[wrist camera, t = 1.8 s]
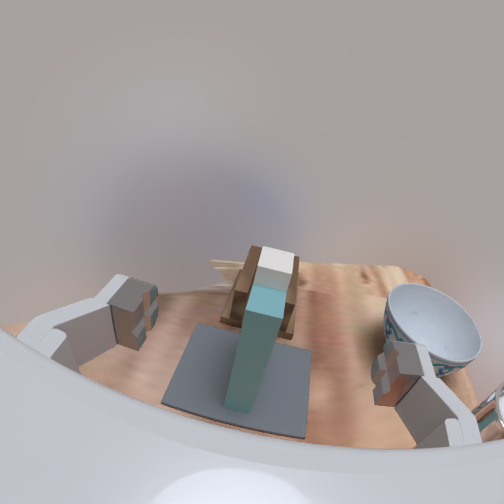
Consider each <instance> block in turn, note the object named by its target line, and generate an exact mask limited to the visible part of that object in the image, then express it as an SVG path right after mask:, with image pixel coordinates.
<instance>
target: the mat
mask: <svg viewBox="0 0 504 504" xmlns="http://www.w3.org/2000/svg"><path fill="white" fill-rule="evenodd" d="M239 337H240V334H239V333H235V332H231V331H227V330H224V329H220V328H216V327H213V326H209V325H205V324H202V323H197V325H196V328H195V330H194V332H193V334H192V336H191V338H190V340H189V343H188V345H187V347H186V349H185V351H184V353H183V355H182V358H181V360H180V362H179V364H178V366H177V368H176V371H175V373H174V375H173V377H172V379H171V381H170V384H169V386H168V388H167V390H166V392H165V395H164V397H163V399H162V401H161V404H164V405H167V406H170V407H172V408H175V409H178V410H182V411H185V412H188V413H191V414H194V415H198V416H201V417H204V418H208V419H211V420H215V421H219V422H223V423H226V424H230V425H234V426H239V427H243V428H247V429H252V430H256V431H261V432H266V433H271V434H276V435H282V436H288V437H294V438H300V439H305V437H306V425H307V413H308V399H309V383H310V365H311V350H307V349H302V348H298V347H293V346H289V345H284V344H280V343H274V346H273V349H272V352H271V355H270V358H269V361H268V363H267V366H266V369H265V372H264V375H263V377H262V380H261V383H260V385H259V388H258V391H257V394H256V396H255V399H254V402H253V404H252V407H251V410H250V412H249V414H248V413H244V412H240V411H236V410H232V409H228V408H224V403H225V398H226V394H227V390H228V385H229V381H230V376H231V372H232V368H233V363H234V359H235V354H236V350H237V345H238V341H239Z"/></svg>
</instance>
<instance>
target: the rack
mask: <svg viewBox="0 0 504 504" xmlns="http://www.w3.org/2000/svg"><path fill="white" fill-rule="evenodd" d="M261 250H262V248H260V247H256V246H251V248H250V251H249V254H248V256H247V259H246V262H245V264H244V267H243V269H242V270H240V271H239V273H238V276H237V278H236V281H235V283H234V286H233V288H232V291H231V294H230V296H229V299H228V301H227V304H226V306H225V309H224V311H223V314H222V317H221V322H222V323H225V324H229V325H233V326H237V327H241V328H242V323H243V319H244V314H245V310H246V306H247V303H248V300H249V296H250V293H251V290H252V287H253V283H254V279H255V274H256V270H257V265H258V262H259V258H260V254H261ZM298 268H299V257H297V256H294V261H293V270H292V276H291V279H290V283H289V286H288V289H287V293H286V300H285V307H284V315H283V320H282V323H281V326H280V329H279V332H278V335H277V337H282V338H286V339H292V337H293V334H294V323H295V313H296V302H297V290H298V284H297V280H298Z"/></svg>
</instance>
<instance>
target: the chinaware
mask: <svg viewBox="0 0 504 504" xmlns="http://www.w3.org/2000/svg"><path fill="white" fill-rule="evenodd" d="M384 333H385V338H386V342H387V341H388V340H394V341H401V342H407V343H416V344H424V345H425V346H426V347H427V350H428V353H429V356H430V359H431V362H432V365H433V368H434V372H435V375H436V377H441V376H446V375H449V374H452V373H454V372H456V371H458V370H460V369H462V368H463V367H465V366H466V365H468V364H469V363H470V362H471V361H473V360H474V359H475V358H476V357H477V356H478V354H479V353H480V351H481V347H482V338H481V334H480V331H479V329H478V327H477V325H476V323H475V321H474V320H473V319H472V317H471V316H470V315H469V314H468V312H467V311H466V310H465V309H464V308H463V307H461V305H459V304H458V303H457V302H456V301H454V300H453V299H451V298H450V297H449V296H447V295H446V294H444V293H442V292H440V291H438V290H436V289H433V288H431V287H428V286H425V285H421V284H416V283H404V284H400V285H397V286H395V287H394V288H393V289H392V290H391V291H390V293H389V296H388V299H387V302H386V307H385V312H384Z"/></svg>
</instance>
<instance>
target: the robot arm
mask: <svg viewBox="0 0 504 504" xmlns="http://www.w3.org/2000/svg"><path fill="white" fill-rule="evenodd" d="M157 296H158V288H157V286H156V285H153V284H150V283H147V282H144V281H141V280H138V279H135V278H132V277H128V276H125V275H122V274H117V275H115V276H114V277H113V278H112V279H111V281H110V282H109V283H108V284H107V285H106V286H105V287H104V288H103V289H102V290H101V291H100V292H99V293H98V294H97V296H96V297H95V298H94V299H93V298H88V299H85V300H82V301H79V302H76V303H73V304H71V305H67V306H64V307H62V308H59V309H56V310H53V311H50V312H47V313H44V314H42V315H39V316H36V317H35V318H34V319H33V320H32V321H31V322H30V323H29V324H28V325H27V326H26V327H25V328H24V329H23V331H22V332H21V333H20V334H19V335H18V336H17V337H14V336H13V335H11V334H9V333H8V332H6V331H5V330H3V329H2V328H1V327H0V504H504V439H501V440H495V441H490V442H483V443H482V439H481V435H480V431H479V428H478V424H477V420H476V417H475V416H474V415H473V414H472V412H471V411H470V410H469V409H468V408H467V407H466V406H465V405H464V404H463V403H462V401H461V400H460V399H459V398H458V397H457V396H456V395H455V394H454V393H453V392H452V391H451V390H450V389H449V388H448V386H447V385H446V384H445V383H444V382H443V381H442V380H441V379H440V378H436V375H435V372H434V368H433V365H432V362H431V359H430V356H429V353H428V350H427V347H426V346H425V345H424V344H416V343H407V342H401V341H394V340H388V341H387V342H386V343H385V345H384V346H383V351H384V352H383V353H381V354H380V355H378V356H377V357H376V359H375V361H374V362H373V366H372V370H371V378H372V381H373V382H374V384H375V385H376V387H375V388H374V389H373V395H374V404H375V405H379V406H388V407H395V410H396V412H397V413H398V415H399V416H400V418H401V420H402V421H403V423H404V424H405V426H406V427H407V429H408V431H409V432H410V434H411V436H412V437H413V439H414V440H415V442H416V444H417V445H416V446H415V447H414V448H412V449H372V448H352V447H339V446H328V445H319V444H311V443H303V442H296V441H290V440H284V439H278V438H272V437H267V436H262V435H257V434H252V433H247V432H243V431H238V430H234V429H230V428H226V427H222V426H218V425H214V424H211V423H207V422H204V421H200V420H197V419H193V418H190V417H187V416H183V415H180V414H177V413H174V412H171V411H168V410H165V409H162V408H160V407H157V406H154V405H151V404H148V403H146V402H143V401H141V400H138V399H135V398H133V397H130V396H128V395H125V394H123V393H121V392H118V391H116V390H114V389H111V388H109V387H107V386H104V385H102V384H100V383H98V382H96V381H93V380H91V379H89V378H87V377H85V376H83V375H81V373H80V371H79V368H78V367H79V366H81V365H83V364H84V363H86V362H88V361H90V360H92V359H93V358H95V357H97V356H99V355H100V354H102V353H104V352H106V351H107V350H109V349H111V348H113V347H114V346H116V345H117V344H119V345H122V346H125V347H128V348H130V349H133V350H136V351H139V349H140V348H141V346H142V344H143V343H144V341H145V340H146V332H147V331H150V330H152V328H153V326H154V325H155V322H156V319H157V316H158V304H157V302H156V301H155V299H156V297H157Z"/></svg>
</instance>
